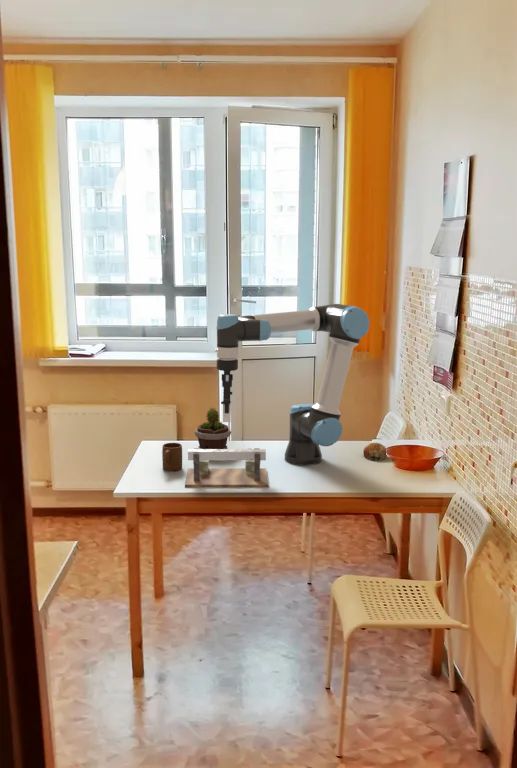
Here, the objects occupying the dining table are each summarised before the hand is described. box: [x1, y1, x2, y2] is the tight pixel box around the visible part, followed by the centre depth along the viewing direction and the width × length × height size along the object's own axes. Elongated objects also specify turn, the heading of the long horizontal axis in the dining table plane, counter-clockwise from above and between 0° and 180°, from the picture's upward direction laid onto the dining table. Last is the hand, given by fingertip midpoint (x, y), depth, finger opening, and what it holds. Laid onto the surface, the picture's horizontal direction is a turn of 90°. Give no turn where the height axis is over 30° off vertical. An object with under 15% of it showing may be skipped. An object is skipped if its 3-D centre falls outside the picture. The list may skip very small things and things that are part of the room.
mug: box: [161, 442, 183, 472], centre depth 254 cm, size 12×8×9 cm, turn 170°
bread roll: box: [363, 442, 388, 461], centre depth 275 cm, size 10×10×8 cm
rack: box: [184, 447, 270, 488], centre depth 245 cm, size 30×18×12 cm, turn 92°
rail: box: [187, 448, 267, 461], centre depth 240 cm, size 28×3×3 cm, turn 92°
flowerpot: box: [194, 406, 232, 449], centre depth 274 cm, size 14×15×20 cm
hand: (226, 417), depth 237 cm, fingers open, 13 cm apart
